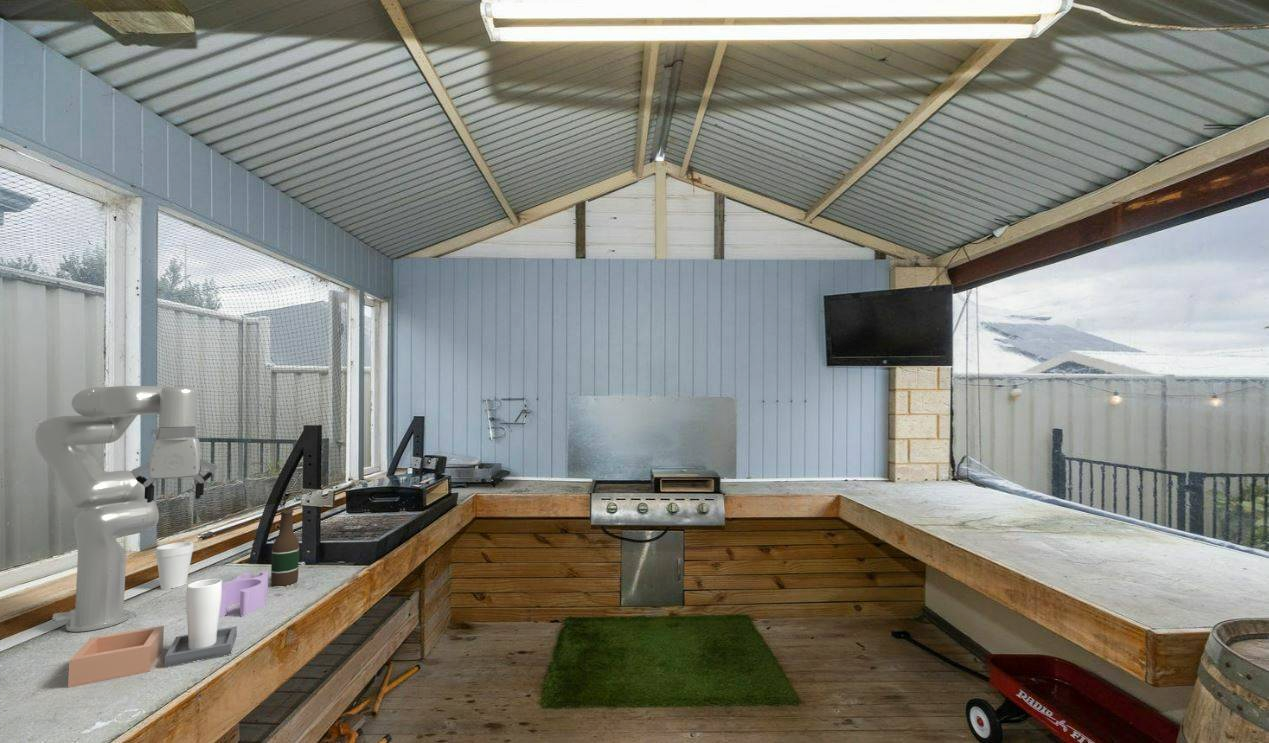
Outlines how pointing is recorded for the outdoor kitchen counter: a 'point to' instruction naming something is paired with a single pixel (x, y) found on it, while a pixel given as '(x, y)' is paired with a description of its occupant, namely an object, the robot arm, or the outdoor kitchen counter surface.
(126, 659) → the terracotta holder
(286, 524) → the beer bottle
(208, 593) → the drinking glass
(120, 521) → the robot arm
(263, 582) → the clip
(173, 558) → the foam cup
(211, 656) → the charcoal tray
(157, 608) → the outdoor kitchen counter surface
